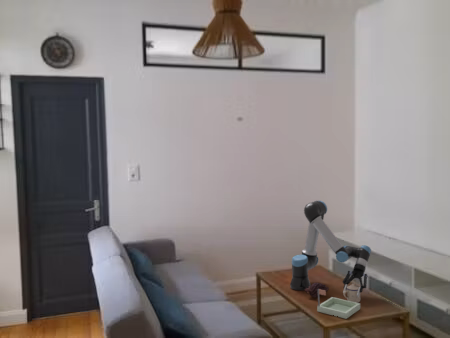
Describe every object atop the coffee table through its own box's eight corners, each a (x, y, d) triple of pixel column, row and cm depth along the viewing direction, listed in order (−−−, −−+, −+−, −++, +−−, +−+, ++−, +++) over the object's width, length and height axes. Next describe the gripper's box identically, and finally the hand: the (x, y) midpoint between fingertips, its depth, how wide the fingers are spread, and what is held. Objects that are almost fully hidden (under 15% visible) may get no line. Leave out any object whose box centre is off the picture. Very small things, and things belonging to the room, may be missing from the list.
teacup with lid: (356, 297, 304) (355, 280, 303) (363, 301, 295) (363, 284, 294) (340, 299, 301) (340, 283, 300) (347, 304, 292) (347, 287, 291)
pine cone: (326, 293, 314) (325, 279, 314) (332, 297, 305) (331, 283, 304) (302, 295, 311) (302, 281, 310) (308, 300, 301) (307, 286, 301)
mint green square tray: (317, 311, 282) (316, 289, 281) (332, 302, 297) (331, 281, 296) (346, 318, 269) (345, 295, 268) (360, 308, 284) (359, 286, 283)
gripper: (377, 271, 301) (368, 300, 290) (347, 266, 315) (337, 294, 304) (373, 265, 296) (364, 295, 285) (344, 260, 311) (334, 289, 300)
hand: (350, 294), depth 295 cm, fingers closed on teacup with lid, 9 cm apart
